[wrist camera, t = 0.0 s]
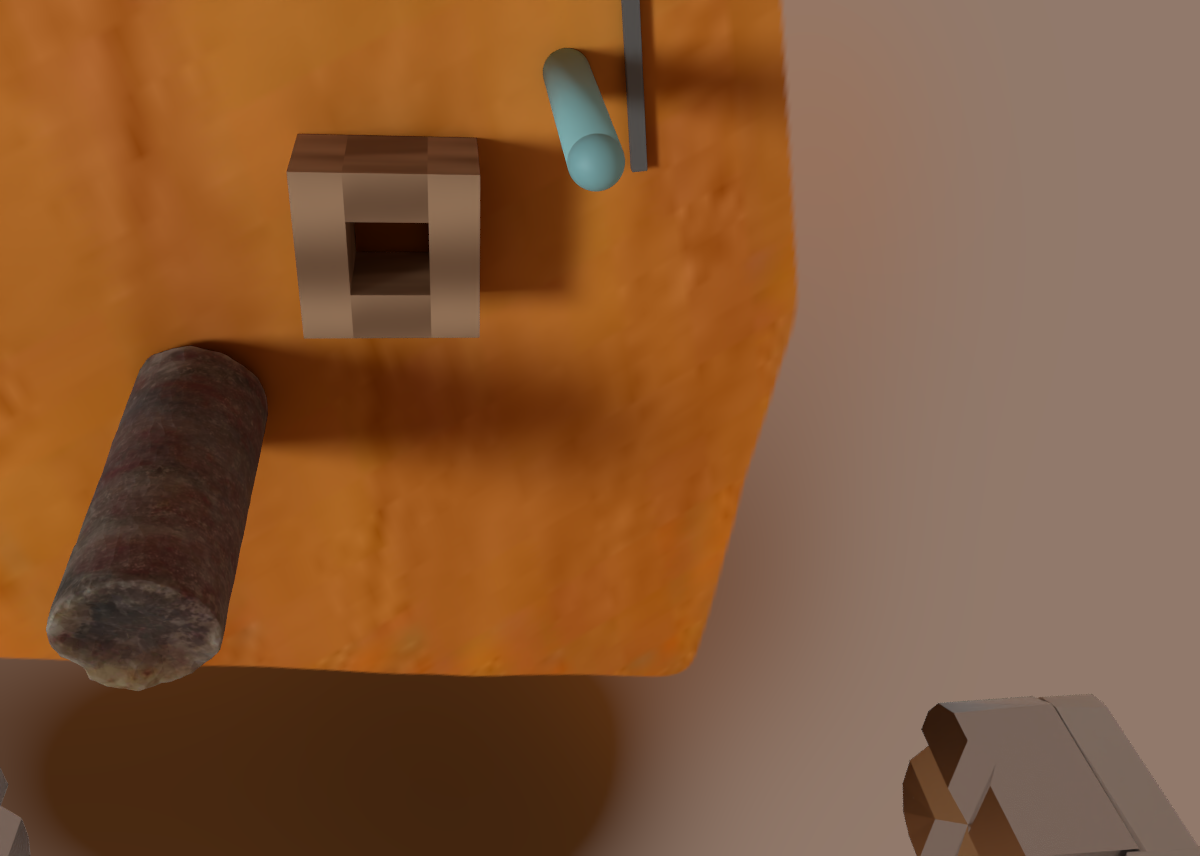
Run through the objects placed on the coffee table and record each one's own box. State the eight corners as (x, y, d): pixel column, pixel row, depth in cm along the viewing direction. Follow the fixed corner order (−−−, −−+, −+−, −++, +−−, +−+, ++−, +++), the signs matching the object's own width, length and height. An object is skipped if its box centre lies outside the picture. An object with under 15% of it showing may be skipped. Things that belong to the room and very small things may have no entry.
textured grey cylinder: (250, 325, 60) (182, 569, 44) (292, 428, 64) (245, 686, 48) (115, 351, 60) (-2, 606, 44) (166, 454, 64) (77, 720, 48)
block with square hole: (297, 133, 54) (286, 171, 50) (476, 137, 55) (480, 175, 51) (312, 292, 59) (303, 338, 55) (476, 292, 60) (479, 337, 56)
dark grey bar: (612, -171, 48) (613, -170, 47) (629, -173, 48) (631, -171, 47) (630, 167, 57) (632, 172, 57) (645, 166, 57) (647, 170, 57)
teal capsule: (543, 47, 53) (571, 143, 42) (591, 48, 53) (631, 144, 43) (541, 95, 54) (568, 200, 44) (588, 96, 55) (626, 201, 44)
